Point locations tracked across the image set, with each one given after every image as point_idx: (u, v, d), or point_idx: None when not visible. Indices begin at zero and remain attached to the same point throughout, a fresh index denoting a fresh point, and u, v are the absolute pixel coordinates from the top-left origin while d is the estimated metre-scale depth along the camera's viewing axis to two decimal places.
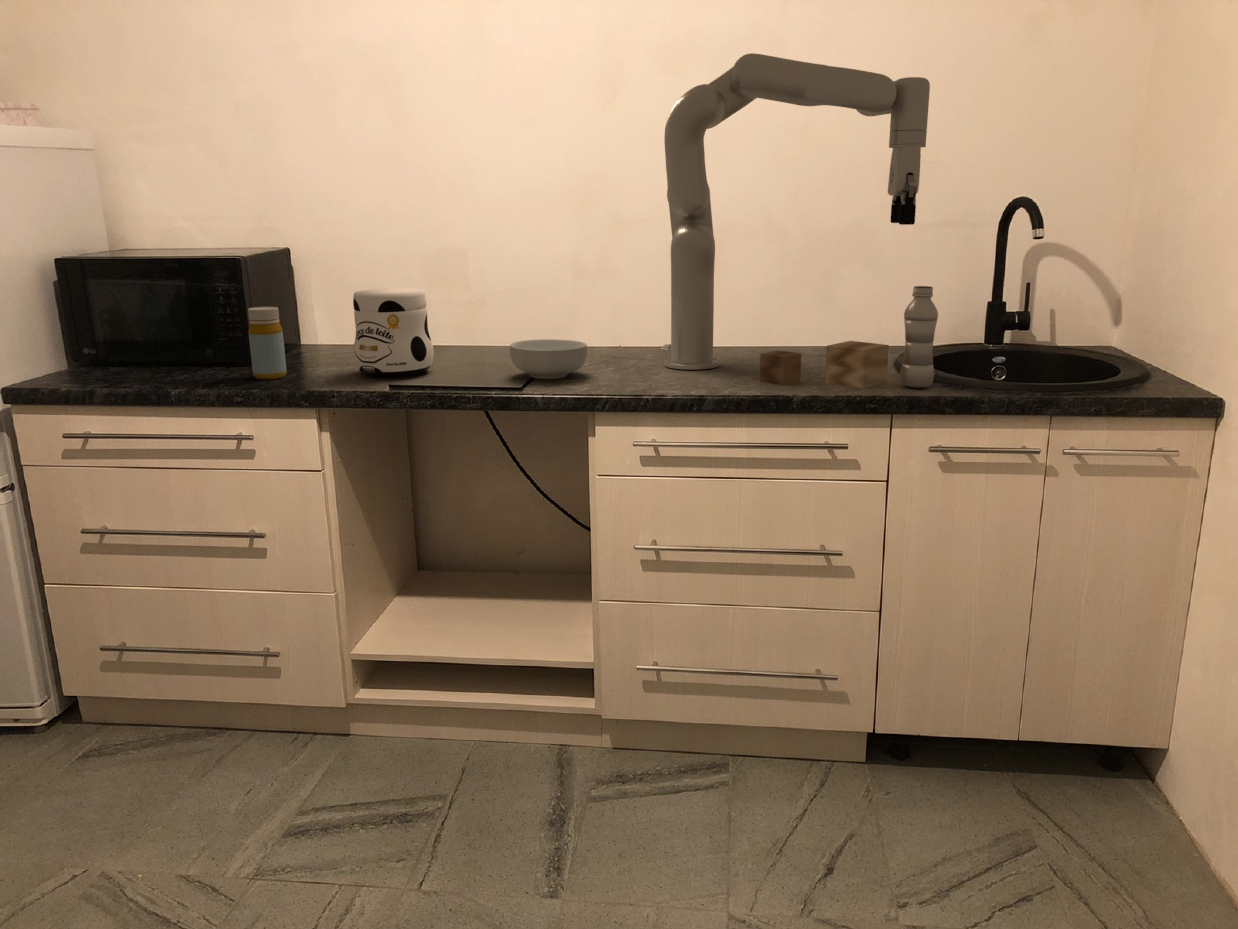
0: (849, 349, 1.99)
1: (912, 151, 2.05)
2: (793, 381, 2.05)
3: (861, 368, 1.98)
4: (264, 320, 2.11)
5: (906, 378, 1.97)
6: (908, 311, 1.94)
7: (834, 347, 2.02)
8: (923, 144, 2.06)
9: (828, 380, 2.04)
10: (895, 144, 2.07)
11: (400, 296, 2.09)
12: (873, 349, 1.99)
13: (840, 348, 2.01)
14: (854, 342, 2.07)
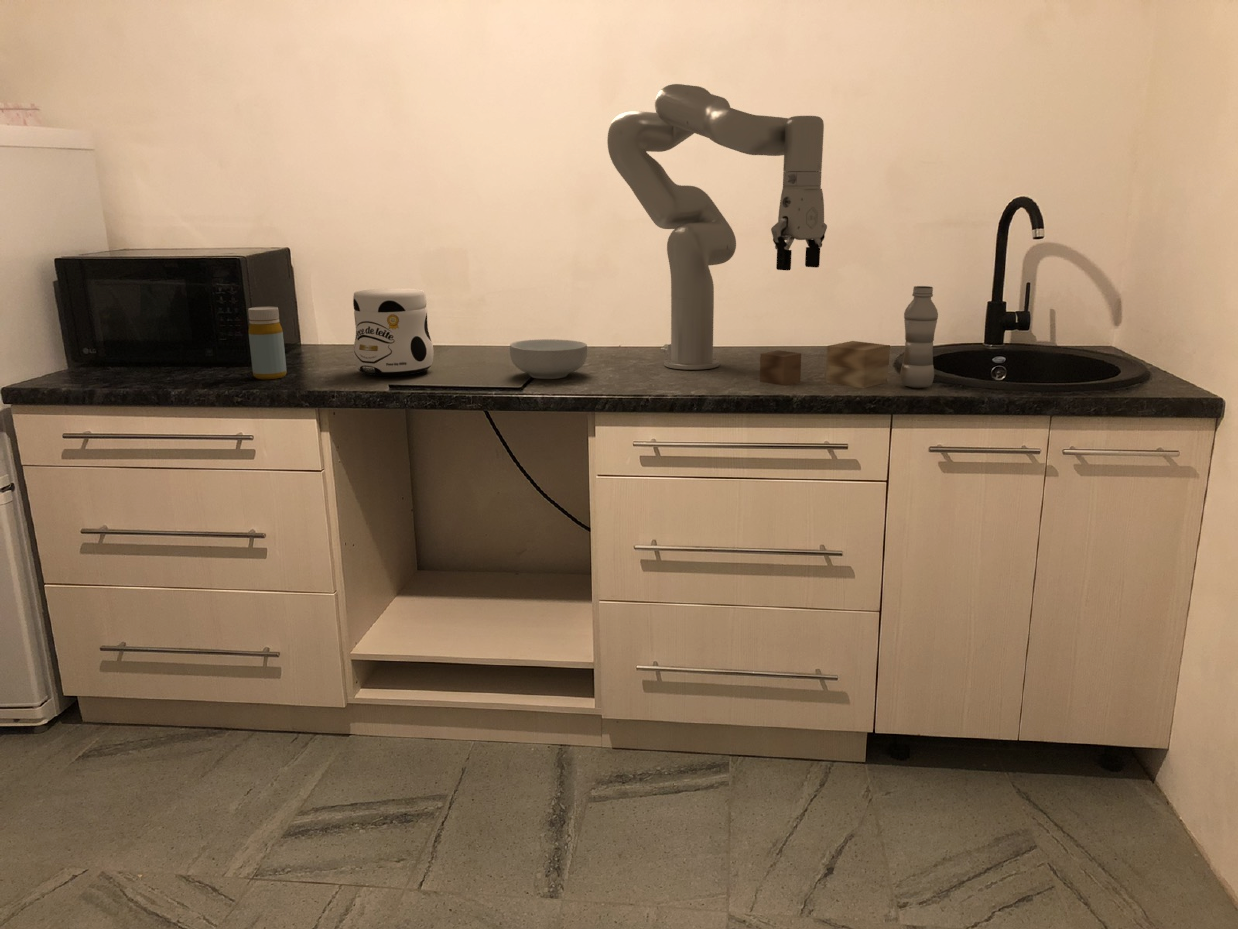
0: (849, 349, 1.99)
1: None
2: (793, 381, 2.05)
3: (861, 368, 1.98)
4: (264, 320, 2.11)
5: (906, 378, 1.97)
6: (908, 311, 1.94)
7: (835, 347, 2.02)
8: None
9: (828, 380, 2.04)
10: None
11: (400, 296, 2.09)
12: (874, 349, 1.99)
13: (841, 348, 2.01)
14: (856, 342, 2.07)
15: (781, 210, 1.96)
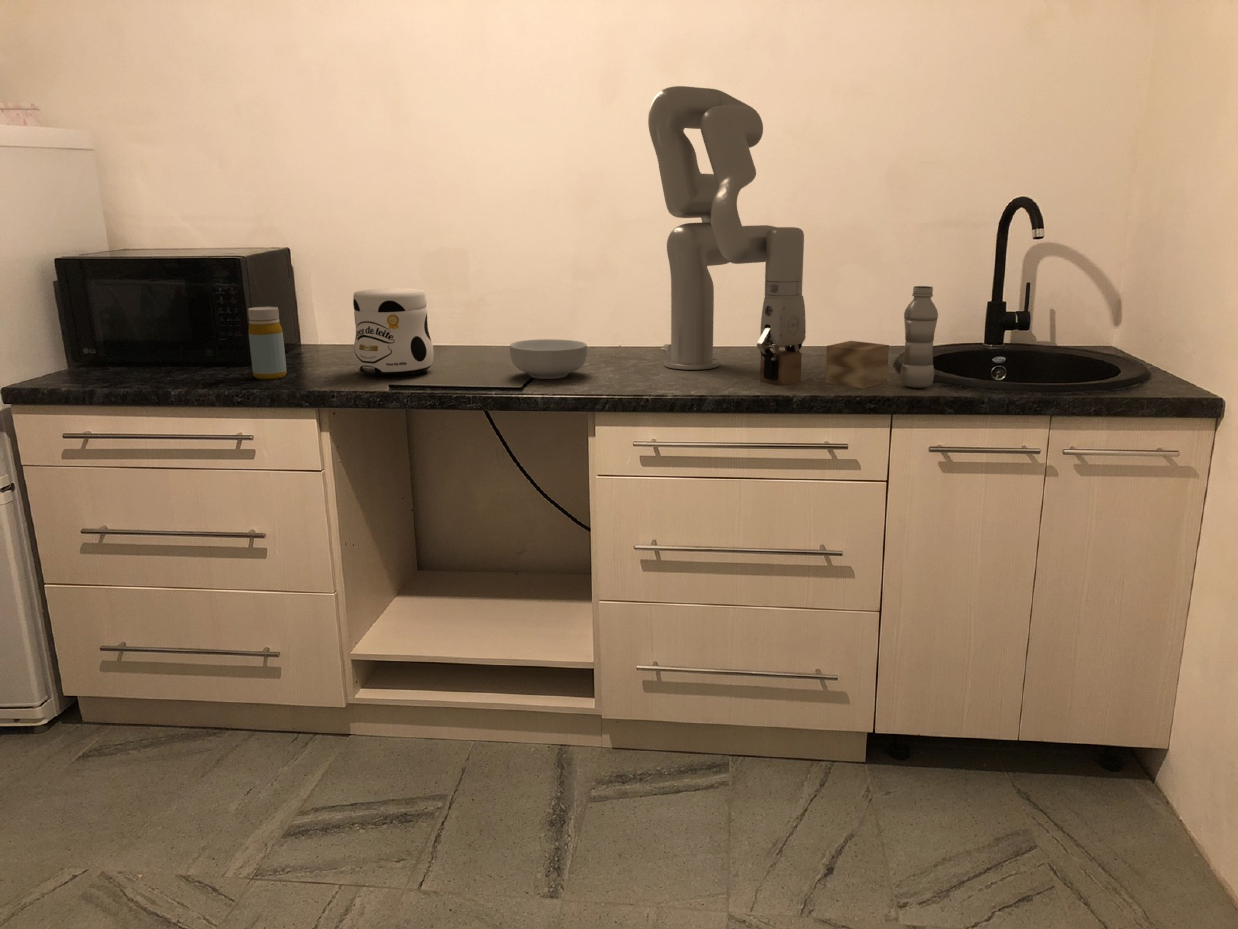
0: (849, 349, 1.99)
1: None
2: (793, 381, 2.05)
3: (861, 368, 1.98)
4: (264, 320, 2.11)
5: (906, 378, 1.97)
6: (908, 311, 1.94)
7: (834, 347, 2.02)
8: None
9: (828, 380, 2.04)
10: (801, 293, 2.01)
11: (400, 296, 2.09)
12: (873, 349, 1.99)
13: (840, 348, 2.01)
14: (854, 342, 2.07)
15: (763, 318, 2.00)
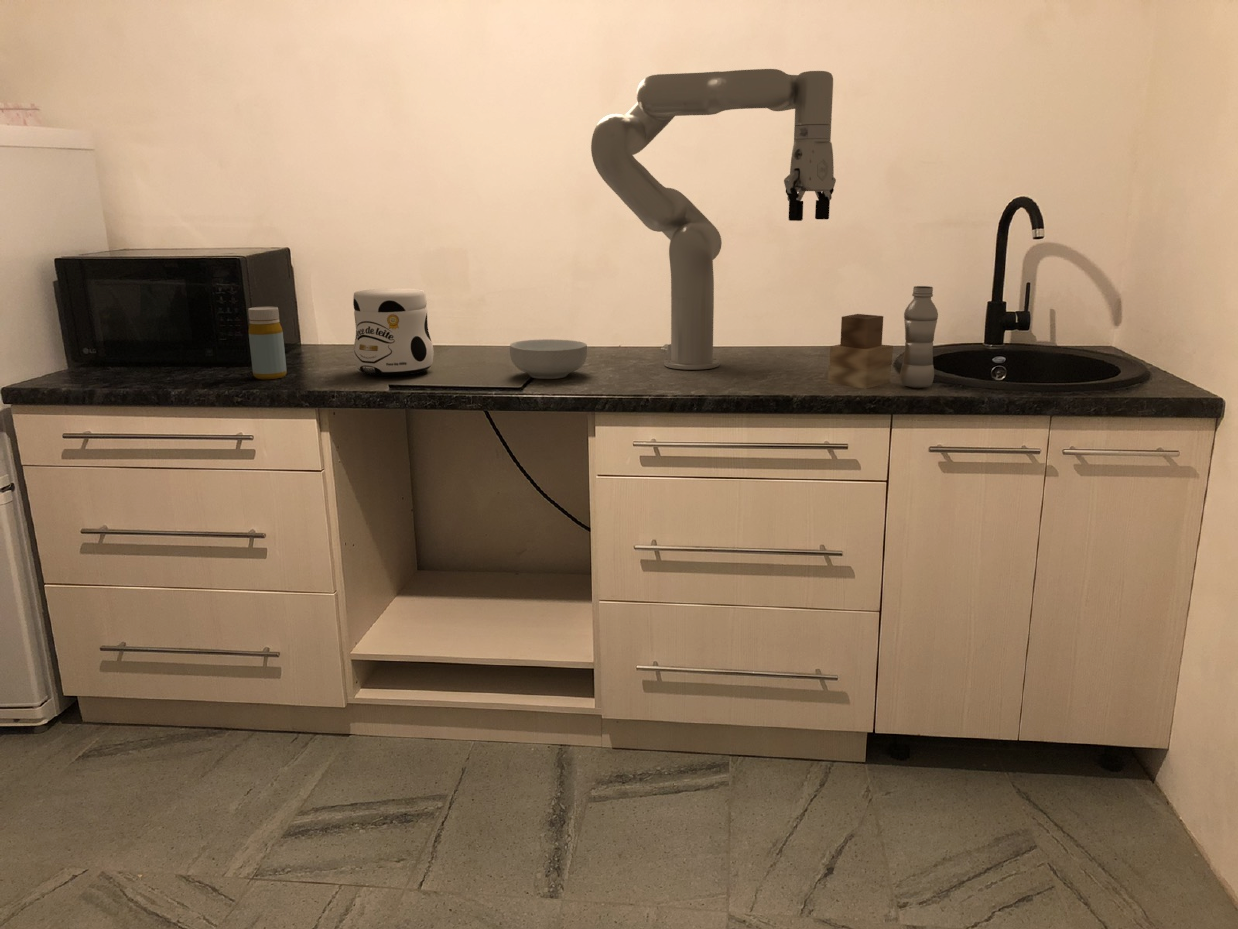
0: (852, 350, 1.99)
1: None
2: (875, 344, 2.01)
3: (864, 369, 1.98)
4: (264, 320, 2.11)
5: (906, 378, 1.97)
6: (908, 311, 1.94)
7: (838, 348, 2.01)
8: None
9: (831, 380, 2.04)
10: None
11: (400, 296, 2.09)
12: (877, 350, 1.98)
13: (844, 349, 2.00)
14: None
15: (793, 162, 2.04)
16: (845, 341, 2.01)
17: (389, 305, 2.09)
